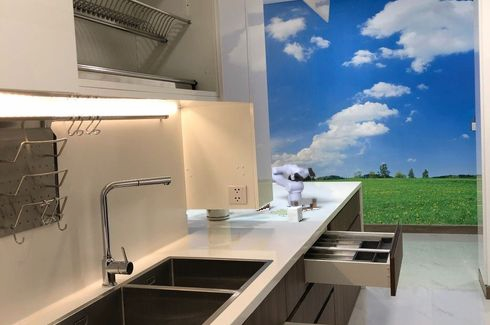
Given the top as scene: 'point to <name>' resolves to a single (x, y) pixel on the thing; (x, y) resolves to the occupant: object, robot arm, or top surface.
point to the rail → (303, 201)
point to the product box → (294, 214)
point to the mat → (280, 212)
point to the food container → (264, 207)
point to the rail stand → (313, 205)
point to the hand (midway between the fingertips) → (309, 177)
